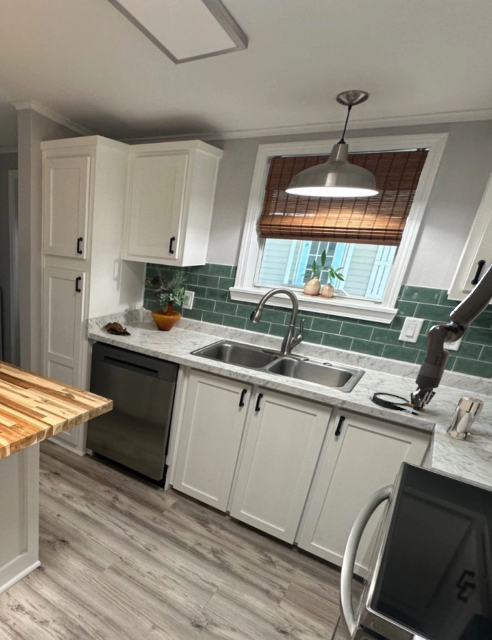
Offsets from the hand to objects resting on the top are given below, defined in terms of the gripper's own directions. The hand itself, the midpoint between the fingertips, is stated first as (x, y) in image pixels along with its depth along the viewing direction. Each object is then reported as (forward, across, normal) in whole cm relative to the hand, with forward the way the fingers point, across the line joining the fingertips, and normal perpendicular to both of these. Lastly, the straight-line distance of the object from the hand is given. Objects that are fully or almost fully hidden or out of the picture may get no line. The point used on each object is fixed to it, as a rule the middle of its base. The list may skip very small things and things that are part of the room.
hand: (415, 414), depth 168 cm
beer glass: (+1, -5, -17) cm, 18 cm away
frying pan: (+1, 0, +8) cm, 8 cm away
